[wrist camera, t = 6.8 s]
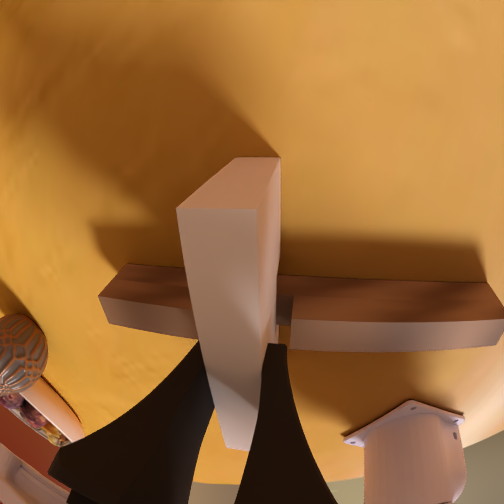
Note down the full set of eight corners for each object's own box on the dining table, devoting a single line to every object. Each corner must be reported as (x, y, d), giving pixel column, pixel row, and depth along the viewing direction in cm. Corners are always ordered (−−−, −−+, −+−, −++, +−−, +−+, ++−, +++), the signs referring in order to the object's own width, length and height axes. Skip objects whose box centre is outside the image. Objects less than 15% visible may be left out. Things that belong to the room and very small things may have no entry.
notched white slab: (277, 365, 17) (262, 452, 12) (248, 362, 17) (226, 447, 12) (280, 157, 11) (256, 209, 6) (235, 157, 12) (176, 208, 6)
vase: (5, 291, 21) (-48, 347, 13) (52, 325, 21) (-2, 395, 13) (18, 333, 24) (-23, 385, 17) (62, 364, 24) (22, 425, 17)
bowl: (72, 436, 44) (58, 462, 38) (-29, 343, 37) (-47, 366, 30) (117, 426, 30) (95, 472, 24) (-42, 272, 23) (-77, 305, 16)
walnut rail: (487, 282, 12) (510, 318, 9) (476, 308, 13) (495, 345, 10) (126, 263, 15) (97, 295, 13) (134, 289, 16) (109, 323, 14)
